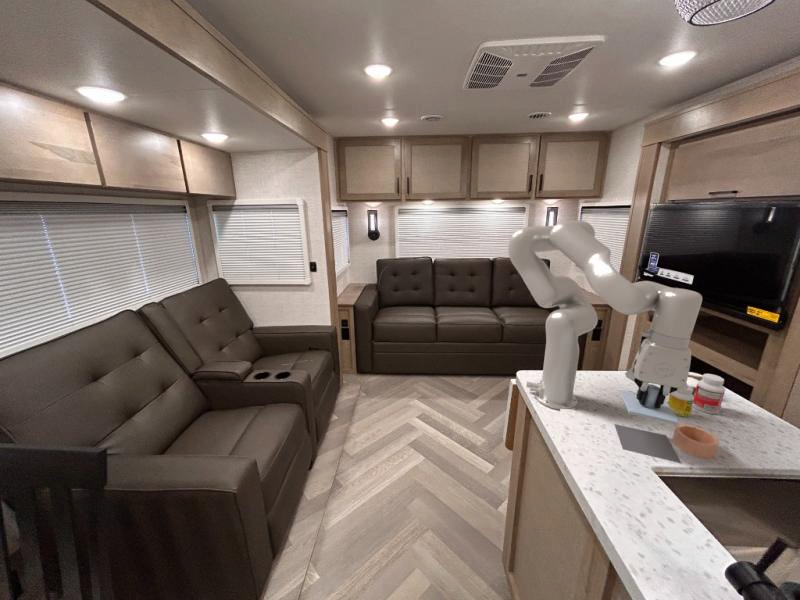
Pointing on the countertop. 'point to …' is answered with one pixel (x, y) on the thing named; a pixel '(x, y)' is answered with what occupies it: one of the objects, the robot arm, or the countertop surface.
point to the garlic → (692, 382)
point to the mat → (646, 443)
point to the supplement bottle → (681, 402)
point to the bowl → (695, 441)
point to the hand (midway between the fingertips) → (648, 403)
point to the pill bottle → (709, 394)
